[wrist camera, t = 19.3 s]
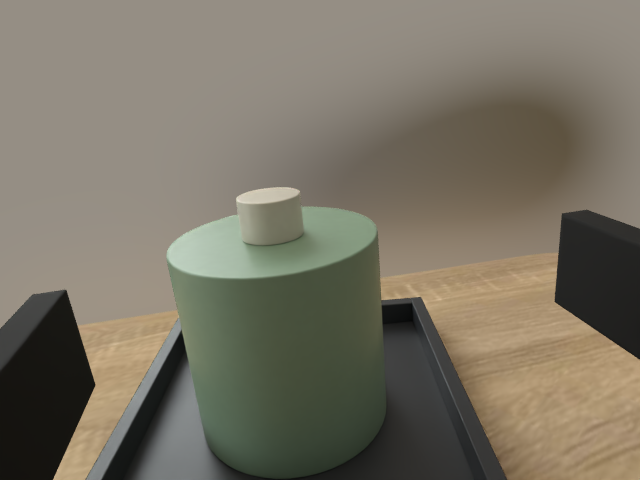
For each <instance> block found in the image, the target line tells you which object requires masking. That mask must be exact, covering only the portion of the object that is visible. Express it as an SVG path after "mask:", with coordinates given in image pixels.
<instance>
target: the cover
mask: <svg viewBox="0 0 640 480" xmlns="http://www.w3.org/2000/svg"><path fill="white" fill-rule="evenodd" d="M236 203H237V209H238V215H234V216H230V217H226V218H223V219H219V220H216V221H213V222H210V223H207V224H205V225H202V226H200V227H198V228H196V229H193V230H191V231H189V232H187V233H186V234H184V235H182V236H181V237H179V238H178V239H177V240H175V241H174V242H173V243H172V244H171V246H170V247H169V249H168V251H167V255H166V256H167V263H168V267H169V272H170V277H171V282H172V286H173V291H174V296H175V301H176V305H177V310H178V315H179V319H180V324H181V329H182V333H183V338H184V343H185V347H186V352H187V357H188V361H189V366H190V371H191V375H192V380H193V385H194V389H195V394H196V399H197V403H198V408H199V413H200V417H201V422H202V427H203V431H204V436H205V439H206V441H207V444H208V445H209V447H210V449H211V450H212V452H213V453H214V454H215V455H216V456H217V457H218V458H219V459H220V460H221V461H223V462H224V463H225V464H227V465H228V466H230V467H232V468H234V469H236V470H238V471H240V472H243V473H246V474H249V475H252V476H257V477H262V478H272V479H291V478H299V477H306V476H310V475H314V474H319V473H322V472H324V471H327V470H330V469H333V468H335V467H337V466H339V465H341V464H343V463H345V462H347V461H348V460H350V459H352V458H353V457H355V456H356V455H357V454H359V453H360V452H361V451H362V450H364V449H365V448H366V447H367V446H368V445H369V444H370V443H371V442H372V441H373V439H374V438H375V436H376V435H377V434H378V432H379V430H380V428H381V426H382V424H383V422H384V418H385V415H386V406H387V404H386V384H385V364H384V345H383V325H382V305H381V286H380V266H379V248H378V231H377V227H376V225H375V224H374V223H373V222H372V221H371V220H370V219H369V218H367V217H365V216H363V215H361V214H358V213H355V212H352V211H347V210H342V209H335V208H325V207H301V198H300V192H299V190H297V189H294V188H285V187H278V188H277V187H275V188H266V189H259V190H254V191H250V192H247V193H244V194H242V195H240V196H238V197H237V198H236Z"/></svg>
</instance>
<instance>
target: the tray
mask: <svg viewBox="0 0 640 480" xmlns="http://www.w3.org/2000/svg"><path fill="white" fill-rule="evenodd" d="M381 305H382V325H383V345H384V364H385V384H386V404H387V406H386V415H385V418H384V422H383V424H382V426H381V428H380V430H379V432H378V434H377V435H376V436H375V438H374V439H373V441H372V442H371V443H370V444H369V445H368V446H367V447H366V448H365V449H364V450H362V451H361V452H360V453H359V454H357V455H356V456H355V457H353V458H352V459H350V460H348V461H347V462H345V463H343V464H341V465H339V466H337V467H335V468H333V469H330V470H327V471H324V472H322V473H319V474H314V475H310V476H306V477H299V478H291V479H272V478H262V477H257V476H252V475H249V474H246V473H243V472H240V471H238V470H236V469H234V468H232V467H230V466H228V465H227V464H225V463H224V462H223V461H221V460H220V459H219V458H218V457H217V456H216V455H215V454H214V453H213V452H212V450H211V449H210V447H209V445H208V444H207V441H206V439H205V436H204V431H203V427H202V422H201V417H200V413H199V408H198V403H197V399H196V394H195V389H194V385H193V380H192V375H191V371H190V366H189V361H188V357H187V352H186V347H185V343H184V338H183V333H182V329H181V324H180V319H179V318H178V319H177V321H176V323H175V324H174V326H173V328H172V330H171V331H170V333H169V335H168V337H167V338H166V340H165V342H164V344H163V345H162V347H161V349H160V351H159V352H158V354H157V356H156V358H155V359H154V361H153V363H152V365H151V366H150V368H149V370H148V372H147V373H146V375H145V377H144V378H143V380H142V382H141V384H140V385H139V387H138V389H137V391H136V392H135V394H134V396H133V398H132V399H131V401H130V403H129V405H128V406H127V408H126V410H125V412H124V413H123V415H122V417H121V419H120V420H119V422H118V424H117V426H116V427H115V429H114V431H113V433H112V434H111V436H110V438H109V439H108V441H107V443H106V445H105V446H104V448H103V450H102V452H101V453H100V455H99V457H98V459H97V460H96V462H95V464H94V466H93V467H92V469H91V471H90V473H89V474H88V476H87V478H86V480H507V478H506V476H505V474H504V472H503V470H502V468H501V466H500V463H499V461H498V459H497V457H496V455H495V453H494V451H493V449H492V447H491V444H490V442H489V440H488V438H487V436H486V434H485V432H484V430H483V427H482V425H481V423H480V421H479V419H478V417H477V415H476V413H475V410H474V408H473V406H472V404H471V402H470V400H469V398H468V396H467V394H466V391H465V389H464V387H463V385H462V383H461V381H460V379H459V377H458V374H457V372H456V370H455V368H454V366H453V364H452V362H451V360H450V357H449V355H448V353H447V351H446V349H445V347H444V345H443V343H442V341H441V338H440V336H439V334H438V332H437V330H436V328H435V326H434V324H433V321H432V319H431V317H430V315H429V313H428V311H427V309H426V307H425V305H424V302H423V300H422V298H421V297H416V298H404V299H392V300H381Z"/></svg>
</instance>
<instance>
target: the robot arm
mask: <svg viewBox="0 0 640 480" xmlns="http://www.w3.org/2000/svg"><path fill="white" fill-rule="evenodd" d="M555 302H556V303H557V304H559V305H560V306H561V307H563V308H564V309H566V310H567V311H569V312H570V313H572V314H573V315H575V316H576V317H578V318H579V319H581V320H582V321H584V322H585V323H587V324H588V325H589V326H591V327H592V328H594V329H595V330H597V331H598V332H600V333H601V334H603V335H604V336H606V337H607V338H609V339H610V340H612V341H613V342H615V343H616V344H617V345H619V346H620V347H622V348H623V349H625V350H626V351H628V352H629V353H631V354H632V355H634V356H635V357H637V358H638V359H640V229H639V228H636V227H633V226H631V225H627V224H625V223H622V222H619V221H616V220H614V219H611V218H608V217H605V216H602V215H600V214H597V213H594V212H591V211H589V210H583V211H576V212H569V213H563V214H562V220H561V232H560V244H559V255H558V267H557V279H556V291H555ZM94 387H95V382H94V379H93V375H92V372H91V369H90V366H89V362H88V359H87V356H86V353H85V349H84V346H83V343H82V340H81V336H80V333H79V330H78V327H77V323H76V320H75V317H74V313H73V310H72V307H71V304H70V301H69V297H68V294H67V291H66V290H61V291H54V292H47V293H41V294H34V295H32V296H31V297H30V298H29V299H28V300H27V301H26V302H25V303H24V304H23V305H22V306H21V307H20V308H19V309H18V310H17V312H16V313H15V314H14V315H13V316H12V317H11V318H10V319H9V320H8V321H7V322H6V323H5V325H4V326H2V327H1V329H0V480H53V478H54V476H55V474H56V472H57V469H58V467H59V465H60V463H61V460H62V458H63V456H64V454H65V452H66V449H67V447H68V445H69V443H70V440H71V438H72V436H73V434H74V432H75V429H76V427H77V425H78V423H79V421H80V418H81V416H82V414H83V412H84V409H85V407H86V405H87V403H88V401H89V398H90V396H91V394H92V392H93V389H94Z"/></svg>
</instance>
